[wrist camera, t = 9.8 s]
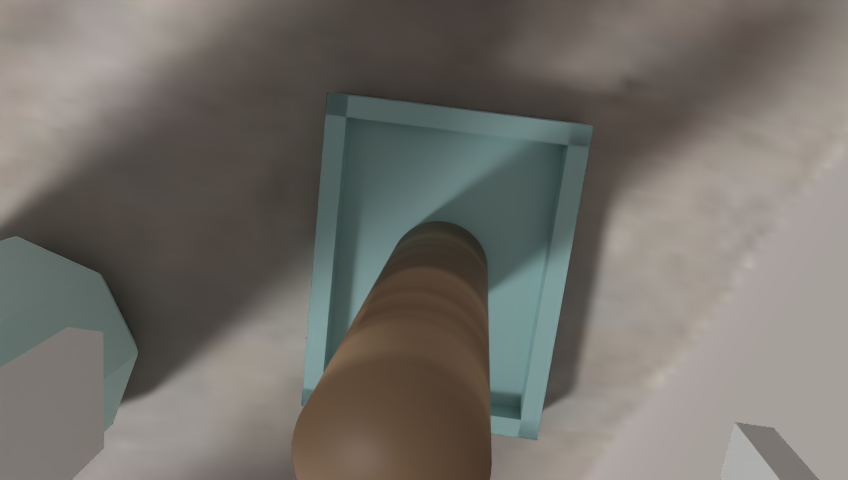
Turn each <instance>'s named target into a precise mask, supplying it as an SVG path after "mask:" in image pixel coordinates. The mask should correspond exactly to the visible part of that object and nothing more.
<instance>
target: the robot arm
mask: <svg viewBox="0 0 848 480" xmlns="http://www.w3.org/2000/svg"><path fill="white" fill-rule="evenodd" d="M103 448H104V380H103V332H100V331H93V330H86V329H79V328H72V327H67V328H65V329H64V330H62V331H60V332H59V333H57V334H55V335H54V336H52V337H50V338H49V339H47V340H45V341H44V342H42V343H40V344H39V345H37V346H35V347H34V348H32V349H30V350H29V351H27V352H25V353H24V354H22V355H20V356H19V357H17V358H15V359H14V360H12V361H10V362H9V363H7V364H5V365H4V366H2V367H0V480H72V479H73V478H74V477H75V476H76V475H77V474H78V473H79V472H80V471H81V470H82V469H83V468H84V467H85V466H86V465H87V464H88V463H89V462H90V461H91V460H92V459H93V458H94V457H95V456H96V455H97V454H98V453H99V452H100V451H101V450H102V449H103ZM720 480H819V479H818V478H817V477H816V476H815V474H814V473H813V472H812V471H811V470H810V469H809V468H808V467H807V465H806V464H805V463H804V462H803V461H802V460H801V459H800V458H799V456H798V455H797V454H796V453H795V452H794V451H793V449H792V448H791V447H790V446H789V445H788V444H787V443H786V442H785V441H784V439H782V437H781V436H780V435H779V434H778V433H777V431H776V430H775V429H774V428H771V427H763V426H757V425H749V424H743V423H736V422H735V425H734V428H733V432H732V435H731V440H730V443H729V447H728V451H727V455H726V458H725V462H724V466H723V469H722V473H721V477H720Z"/></svg>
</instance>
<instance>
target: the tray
mask: <svg viewBox="0 0 848 480" xmlns="http://www.w3.org/2000/svg"><path fill="white" fill-rule="evenodd" d="M593 127H594V126H591V125H588V124H584V123H576V122H568V121H560V120H552V119H544V118H536V117H528V116H520V115H512V114H504V113H496V112H488V111H480V110H472V109H464V108H456V107H448V106H440V105H432V104H425V103H417V102H409V101H401V100H393V99H385V98H377V97H369V96H361V95H353V94H345V93H327V102H326V114H325V126H324V138H323V151H322V163H321V175H320V187H319V199H318V211H317V223H316V235H315V248H314V260H313V272H312V284H311V296H310V308H309V320H308V332H307V344H306V357H305V369H304V381H303V393H302V406H305V405H306V403H307V401H308V399H309V398H310V396H311V394H312V392H313V391H314V389H315V387H316V385H317V384H318V382H319V380H320V378H321V377H322V375H323V373H324V371H325V370H326V368H327V366H328V364H329V363H330V361H331V359H332V357H333V355H334V354H335V352H336V350H337V348H338V347H339V345H340V343H341V341H342V340H343V338H344V336H345V334H346V333H347V331H348V329H349V327H350V326H351V324H352V322H353V320H354V319H355V317H356V315H357V313H358V312H359V310H360V308H361V306H362V304H363V303H364V301H365V299H366V297H367V296H368V294H369V292H370V290H371V289H372V287H373V285H374V283H375V282H376V280H377V278H378V276H379V275H380V273H381V271H382V269H383V268H384V266H385V264H386V262H387V261H388V259H389V257H390V255H391V253H392V252H393V250H394V248H395V246H396V245H397V243H398V242H399V240H400V239H401V238H402V237H403V236H404V235H405V234H406V233H407V232H408V231H409V230H411V229H412V228H414V227H416V226H418V225H420V224H423V223H427V222H433V221H443V222H449V223H453V224H456V225H458V226H460V227H462V228H464V229H466V230H467V231H469V232H470V233H471V234H472V235H473V236H474V237H475V238H476V239H477V240H478V242H479V243H480V245H481V246H482V248H483V250H484V253H485V256H486V259H487V267H488V313H489V361H490V410H491V433H492V434H499V435H506V436H513V437H520V438H526V439H533V440H537V437H538V432H539V426H540V420H541V415H542V409H543V404H544V398H545V393H546V387H547V382H548V376H549V371H550V365H551V360H552V354H553V349H554V343H555V338H556V332H557V326H558V321H559V315H560V310H561V304H562V299H563V293H564V288H565V282H566V277H567V271H568V266H569V260H570V255H571V249H572V244H573V238H574V232H575V227H576V221H577V216H578V210H579V205H580V199H581V194H582V188H583V183H584V177H585V172H586V166H587V161H588V155H589V150H590V144H591V138H592V133H593Z"/></svg>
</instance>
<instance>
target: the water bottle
mask: <svg viewBox="0 0 848 480" xmlns="http://www.w3.org/2000/svg"><path fill="white" fill-rule="evenodd" d="M67 327H72V328H79V329H86V330H93V331H100V332H103V380H104V431H106V430H107V429H108V428H109V427H110V426H111V425H112V424H113V421H114V419H115V416H116V413H117V410H118V408H119V405H120V402H121V399H122V397H123V394H124V391H125V389H126V386H127V383H128V380H129V378H130V375H131V372H132V369H133V367H134V364H135V361H136V358H137V356H138V350H137V346H136V343H135V340H134V338H133V336H132V334H131V332H130V330H129V328H128V326H127V324H126V322H125V320H124V318H123V316H122V314H121V312H120V310H119V308H118V306H117V304H116V302H115V300H114V298H113V296H112V294H111V292H110V290H109V287H108V285H107V283H106V281H105V279H104V277H103V276H102V275H101V274H100V273H98V272H95V271H93V270H91V269H89V268H86V267H84V266H82V265H80V264H78V263H75V262H73V261H71V260H69V259H66V258H64V257H62V256H60V255H58V254H55V253H53V252H51V251H49V250H46V249H44V248H42V247H40V246H38V245H35V244H33V243H31V242H29V241H26V240H24V239H22V238H20V237H18V236H14V237H11V238H8V239H4V240H1V241H0V367H2V366H4V365H5V364H7V363H9V362H10V361H12V360H14V359H15V358H17V357H19V356H20V355H22V354H24V353H25V352H27V351H29V350H30V349H32V348H34V347H35V346H37V345H39V344H40V343H42V342H44V341H45V340H47V339H49V338H50V337H52V336H54V335H55V334H57V333H59V332H60V331H62V330H64V329H65V328H67Z"/></svg>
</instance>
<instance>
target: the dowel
mask: <svg viewBox="0 0 848 480" xmlns="http://www.w3.org/2000/svg"><path fill="white" fill-rule="evenodd" d="M292 460H293V467H294V471H295V474H296V478H297V480H490V476H491V465H492V459H491V410H490V361H489V313H488V267H487V259H486V256H485V253H484V250H483V248H482V246H481V245H480V243H479V242H478V240H477V239H476V238H475V237H474V236H473V235H472V234H471V233H470V232H469V231H467V230H466V229H464V228H462V227H460V226H458V225H456V224H453V223H449V222H443V221H433V222H427V223H423V224H420V225H418V226H416V227H414V228H412V229H411V230H409V231H408V232H407V233H406V234H405V235H404V236H403V237H402V238H401V239H400V240H399V242H398V243H397V245H396V246H395V248H394V250H393V252H392V253H391V255H390V257H389V259H388V261H387V262H386V264H385V266H384V268H383V269H382V271H381V273H380V275H379V276H378V278H377V280H376V282H375V283H374V285H373V287H372V289H371V290H370V292H369V294H368V296H367V297H366V299H365V301H364V303H363V304H362V306H361V308H360V310H359V312H358V313H357V315H356V317H355V319H354V320H353V322H352V324H351V326H350V327H349V329H348V331H347V333H346V334H345V336H344V338H343V340H342V341H341V343H340V345H339V347H338V348H337V350H336V352H335V354H334V355H333V357H332V359H331V361H330V363H329V364H328V366H327V368H326V370H325V371H324V373H323V375H322V377H321V378H320V380H319V382H318V384H317V385H316V387H315V389H314V391H313V392H312V394H311V396H310V398H309V399H308V401H307V403H306V405H305V406H304V408H303V410H302V412H301V414H300V416H299V418H298V420H297V423H296V426H295V430H294V434H293V440H292Z"/></svg>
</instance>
